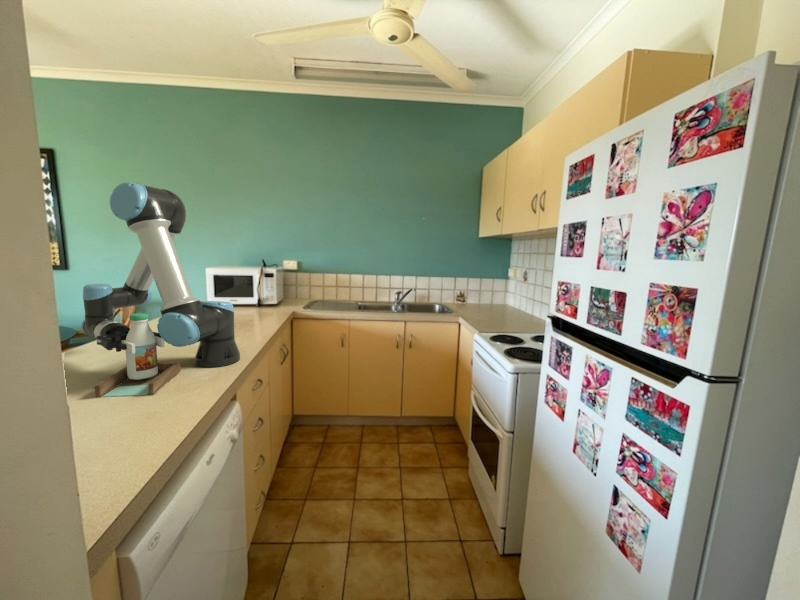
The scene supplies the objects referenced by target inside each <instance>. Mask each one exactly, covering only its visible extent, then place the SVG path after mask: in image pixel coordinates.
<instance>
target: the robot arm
mask: <svg viewBox="0 0 800 600" xmlns="http://www.w3.org/2000/svg"><path fill="white" fill-rule="evenodd" d="M109 205H110V206H109V207H110V210H111V212H112V214H113V215H114V216H115V217H117V218H118V219H120V220H121V221H125V224H126V225H127V228H128V231H130V232H133V233H135V234H136V236H137V239H138V241H139V243H140V246H141V248H140V250H139V253H138V254H137V257H136V259H135V261H134V263H133V265H132V267H131V270H130V272H129V274H128V276H127V278H126V279H125V282H124V284H123V286H122V287H121V286H120V287H113V288H112V285H111V284H109V283H89V284H85V285H84V286H83V287H82V288H83V289H82V299H83V300H82V301H83V306H84V307H83V308H84V319H83V320H82V322H81V325H80V329H81V332H82V333H83V334H84V335H85V336H87V338H90V339H94V340H96V345H97V346H98V345H99V346H102V347H103V348H104V349H106V350H107V351H113V350H114V349H115V352H116V353H118V352H119V353H120V352H122V351H125V352H126V351H127V352H130V353H132V354H133V353H135V344H133V343H130V342H127V341H126V337H127V334H128V332H129V330H130V328H131V327H129V326H128V325H127V324H123V323H121V322H119V321H114V320H115V318H114V310H117V309H123V308H127V307H137V306H140V305H145V304H147V303H150V302H151V300H152V297H153V296H152V293H153V292H152V290H151V289H150V288H151V286H152V283H153V282H155V285H156V288H157V291H158V293H159V296H160V298H161V301H162V307H161V309H160V310H159V311H160V313H161V316H160V318H159V319H158V320H157V324H156V327H157V332H156V331H152V332H153V333H154V335H155V339H156V347H159V348H165V342H166V343H167V344H168V345H171V346H173V347H178V348H182V347H186V346H191V345H194V344H196V343H199V345H198V346H197V350H196V353H195V357H194V363H195V365H196V366H199V367H202V368H216V367H219V368H220V367H225V366H229V365H232V364H235V363H237V362H239V361H240V360H241V352H240V350H239V348H238V345H237V342H236V340H235V338H236V337H235V310H234V305H233V303H232V302H230V301H220V300H219V301H218V300H215V301H214V300H200V299H199V298H196V297H195V296H193V295H194V294H193V293H192V290H191V288H190V285H189V282H188V279H187V277H186V274H185V272H184V269H183V265H182V263H181V260H180V259H179V256H178V252H177V249H176V247H175V244H174V242H173V240H174V239H175V238H176V236H177V235H180V234H181V232H182V230H183V228H184V226H185V223H186V217H187V210H186V206H185V204H184V201H183V200H182V199H181V198H180V197H179V195H178V194H176V193H174V192H173V191H171V190H168V189H164V188H159V187H153V186H149V185H145V184H143V183H139V182H136V183H135V182H127V181H126V182H122V183H119V184H118V185H117V186H115V187H114V189H113V190H112V193H111V194H110V198H109Z"/></svg>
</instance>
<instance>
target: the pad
mask: <svg viewBox="0 0 800 600" xmlns="http://www.w3.org/2000/svg"><path fill="white" fill-rule="evenodd" d="M147 394H148V395H149V390H148V385H145V384H144V385H124V386H123V385H122V386H121V385H119V386H117V387H116V388H114V389H113V390H111V391H110V392H108V393H107V394H105V395H104V396H102V398H110V397H111V398H112V397H115V398H116V397H132V396H133V395H137V396H148V395H147Z"/></svg>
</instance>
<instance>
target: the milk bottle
mask: <svg viewBox="0 0 800 600" xmlns="http://www.w3.org/2000/svg"><path fill="white" fill-rule="evenodd" d="M149 317H150V316H149V313H146V312H135V313H132V314H129V321H130V323H131V324H130V327H129V328H130V330H129V332H128V334H127V337H126V341H127V342H130V343H133V344H135V353H133V354H132V353H130V352H127V351H125V358H126V367H127V375H128V378H129V379H130V380H144V379H150V378H152V377H154V376H156V375H158V374H157V373H158V363H159V362H158V351H157V346H156V339H155V335H154V333H153V332H154V331H153V330H152V329H151V327H150V324H149V321H150V320H149ZM129 379H128V380H129Z"/></svg>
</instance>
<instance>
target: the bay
mask: <svg viewBox="0 0 800 600" xmlns="http://www.w3.org/2000/svg"><path fill="white" fill-rule="evenodd" d="M157 363H158V373H157V374H156V375H157V376H156V377H155V378H153V379H152V380H151V381H150V382H148V383H147V384H148V390H149V394H148V395H149V396H154V395H155V394H156V393H157V391H158V390H159V389H160V388H161V387H162V388H163V387H164V385H165V384H166V383H167V382H168V383H170V382H171V381H172V380H173V379H174V378H175V377H176V376H178V375H179V374H180V373H181V363H180V362H178V361H177V362H157ZM179 372H180V373H179ZM178 373H179V374H178ZM177 374H178V375H177ZM172 378H173V379H172ZM127 379H128V380H129V378H128V375H127V366H125V367H124V368H122V369H120V370H119V371H117V372H115V373H114V374H111V375H110V376H108V377H107V378H105V379H103V380H102V381H101V382H98V383H97V384H95V385H94V392H95V398H103V396H104V395H106V394H107V393H109V392H110V391H112V389H115V387H118V385H119V386H121V385H122V384H123V383H125V382H126V381H128V380H127ZM171 379H172V380H171ZM170 380H171V381H170ZM124 381H125V382H124ZM121 383H122V384H121ZM168 383H167V384H168ZM167 384H166V385H167ZM166 385H165V386H166ZM162 388H161V389H162ZM161 389H160V390H161ZM160 390H159V391H160ZM159 391H158V392H159Z"/></svg>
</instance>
